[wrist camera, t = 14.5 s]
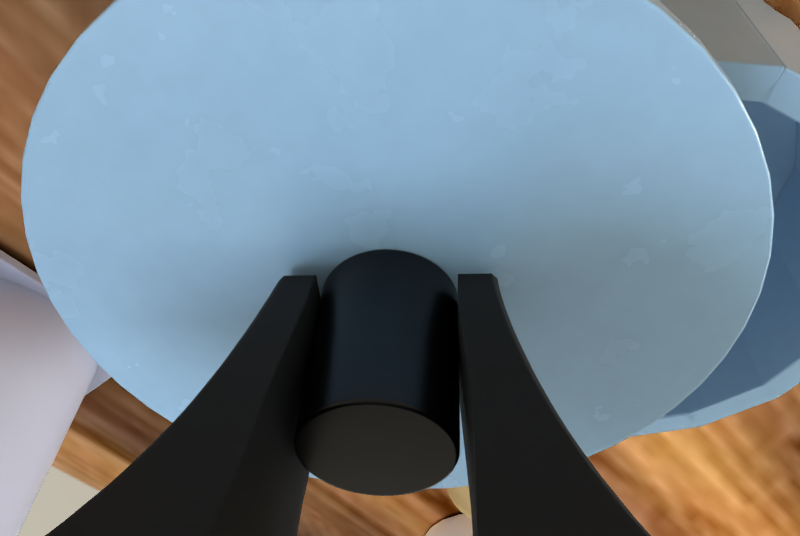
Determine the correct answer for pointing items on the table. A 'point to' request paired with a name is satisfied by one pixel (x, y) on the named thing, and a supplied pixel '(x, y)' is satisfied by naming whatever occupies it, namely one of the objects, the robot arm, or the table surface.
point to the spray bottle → (452, 527)
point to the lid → (401, 208)
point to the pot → (792, 201)
